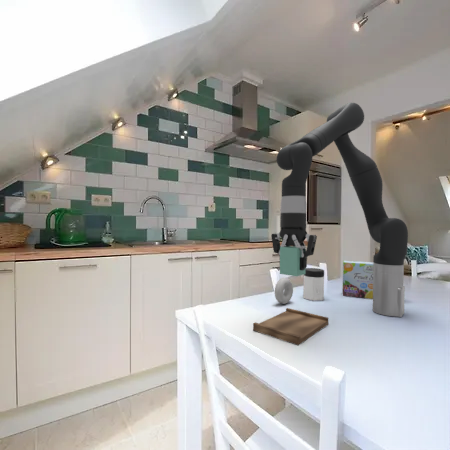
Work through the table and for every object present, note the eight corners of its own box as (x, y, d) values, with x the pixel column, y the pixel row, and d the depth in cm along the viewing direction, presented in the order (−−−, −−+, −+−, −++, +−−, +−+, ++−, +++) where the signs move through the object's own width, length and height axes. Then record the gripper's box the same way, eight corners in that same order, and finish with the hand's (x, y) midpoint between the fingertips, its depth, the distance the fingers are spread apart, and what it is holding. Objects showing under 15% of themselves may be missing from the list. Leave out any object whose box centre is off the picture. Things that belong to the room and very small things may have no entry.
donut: (287, 300, 109) (287, 275, 109) (294, 302, 107) (294, 276, 107) (272, 305, 102) (272, 278, 102) (280, 307, 100) (280, 280, 100)
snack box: (342, 296, 117) (343, 261, 117) (342, 293, 122) (342, 260, 122) (400, 302, 109) (400, 265, 109) (397, 299, 114) (397, 263, 114)
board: (328, 324, 83) (328, 317, 83) (298, 345, 68) (298, 337, 68) (287, 313, 93) (287, 307, 93) (253, 330, 78) (253, 323, 78)
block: (305, 273, 81) (305, 247, 81) (296, 276, 77) (297, 248, 77) (288, 271, 84) (289, 245, 84) (279, 273, 80) (280, 246, 80)
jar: (307, 301, 109) (308, 271, 109) (299, 295, 117) (299, 268, 117) (328, 300, 110) (329, 271, 110) (319, 295, 118) (319, 267, 118)
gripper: (322, 212, 79) (321, 270, 79) (278, 213, 88) (278, 265, 88) (311, 210, 73) (310, 273, 73) (265, 212, 83) (265, 267, 83)
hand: (292, 268), depth 81 cm, fingers closed on block, 5 cm apart
